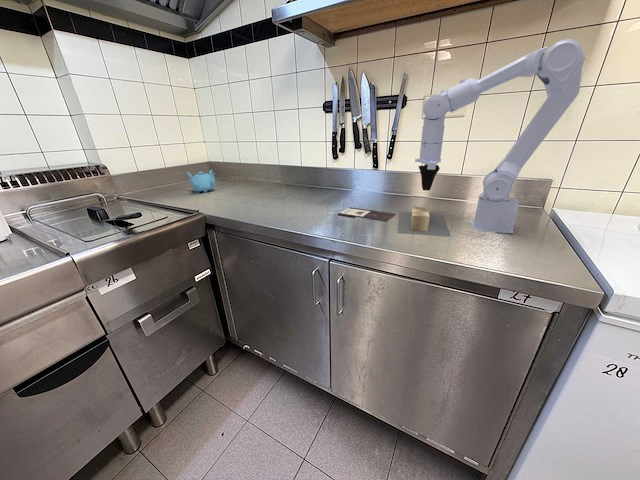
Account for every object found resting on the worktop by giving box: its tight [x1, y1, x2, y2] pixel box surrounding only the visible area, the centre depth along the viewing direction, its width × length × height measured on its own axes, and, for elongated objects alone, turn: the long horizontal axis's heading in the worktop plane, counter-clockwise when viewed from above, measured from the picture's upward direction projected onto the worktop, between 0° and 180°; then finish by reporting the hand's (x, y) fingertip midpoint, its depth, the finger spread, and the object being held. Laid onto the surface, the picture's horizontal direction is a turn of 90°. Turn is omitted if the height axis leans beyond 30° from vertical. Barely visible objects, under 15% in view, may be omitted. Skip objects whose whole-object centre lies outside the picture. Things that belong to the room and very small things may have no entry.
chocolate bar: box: [337, 207, 397, 223], centre depth 93 cm, size 9×1×18 cm
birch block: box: [411, 206, 430, 231], centre depth 80 cm, size 4×4×9 cm
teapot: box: [186, 169, 216, 194], centre depth 138 cm, size 13×13×10 cm
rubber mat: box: [397, 211, 452, 238], centre depth 83 cm, size 14×20×1 cm
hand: (426, 189), depth 82 cm, fingers closed
